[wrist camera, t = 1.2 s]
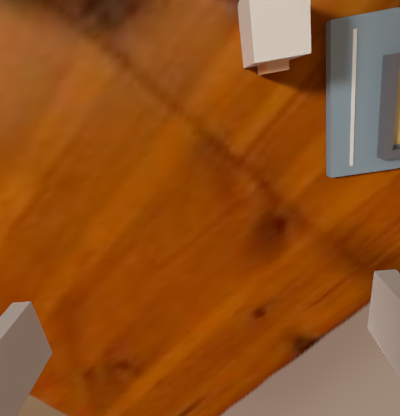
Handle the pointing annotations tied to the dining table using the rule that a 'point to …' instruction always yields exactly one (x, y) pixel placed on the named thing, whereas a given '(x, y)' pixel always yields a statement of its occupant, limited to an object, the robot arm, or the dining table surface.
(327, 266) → the dining table surface
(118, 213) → the dining table surface
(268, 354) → the dining table surface
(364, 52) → the board
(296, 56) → the plug
